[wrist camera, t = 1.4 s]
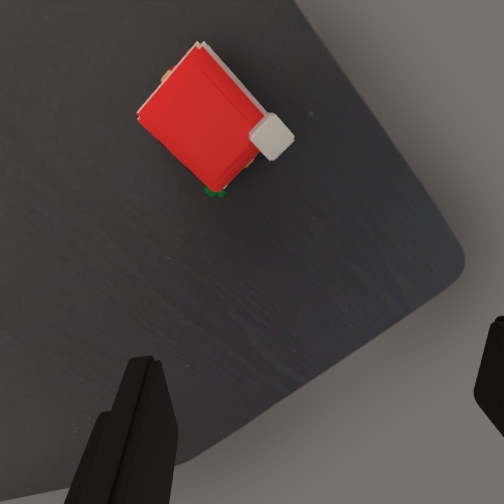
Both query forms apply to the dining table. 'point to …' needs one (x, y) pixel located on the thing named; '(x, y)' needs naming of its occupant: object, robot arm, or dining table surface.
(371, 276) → the dining table surface
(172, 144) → the figurine
